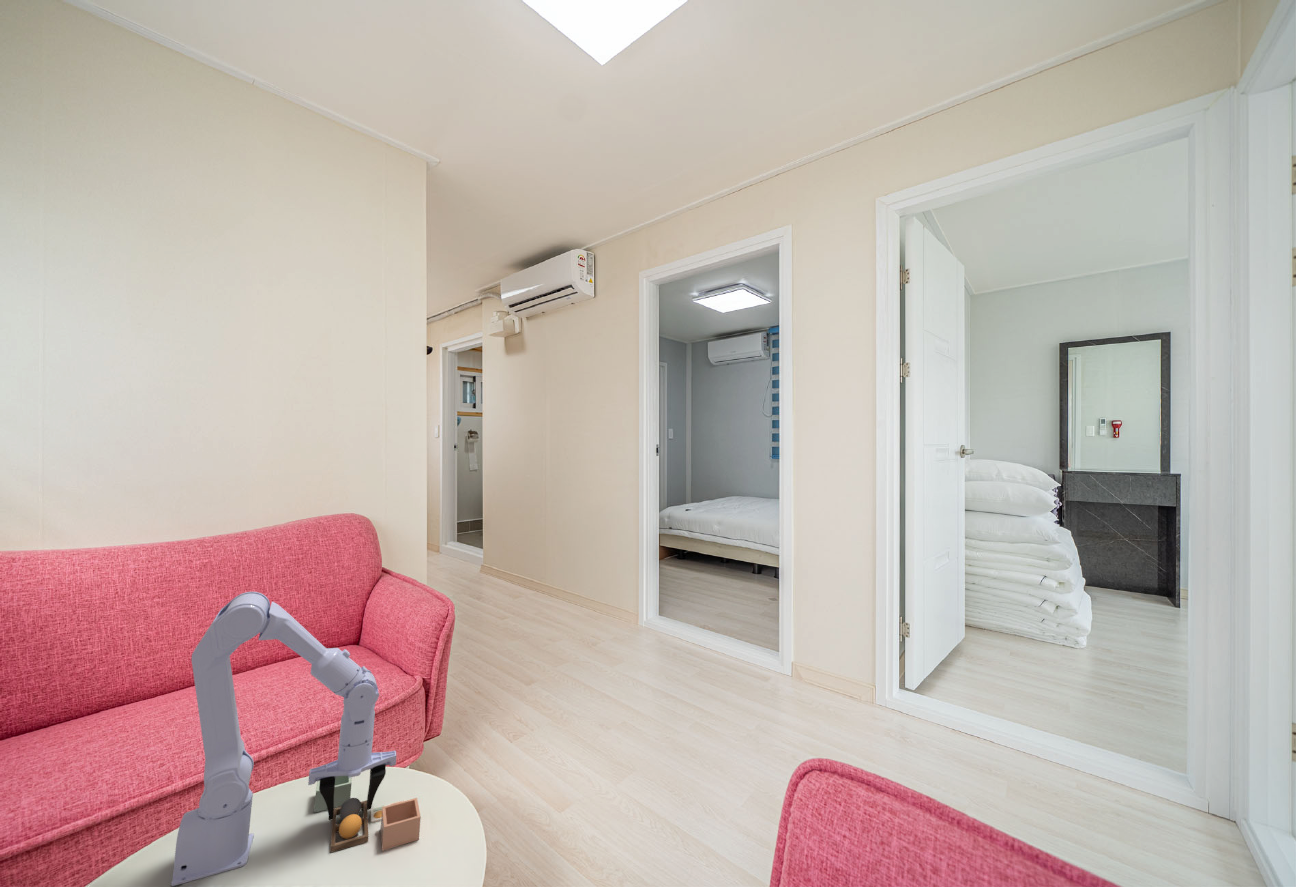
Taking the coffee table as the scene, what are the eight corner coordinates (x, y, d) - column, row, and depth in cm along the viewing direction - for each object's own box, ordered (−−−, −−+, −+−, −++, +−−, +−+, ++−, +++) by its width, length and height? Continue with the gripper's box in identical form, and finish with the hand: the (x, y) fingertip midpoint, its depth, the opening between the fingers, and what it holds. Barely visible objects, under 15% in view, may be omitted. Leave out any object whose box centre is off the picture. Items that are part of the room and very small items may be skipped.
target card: (370, 823, 95) (371, 820, 95) (370, 810, 98) (370, 808, 98) (405, 813, 98) (405, 811, 98) (403, 801, 101) (404, 799, 101)
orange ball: (337, 846, 89) (339, 825, 89) (338, 833, 92) (340, 813, 92) (361, 839, 90) (362, 819, 91) (360, 827, 93) (362, 807, 94)
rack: (330, 852, 87) (330, 846, 87) (332, 814, 96) (332, 809, 96) (368, 841, 90) (368, 836, 90) (366, 805, 99) (367, 800, 99)
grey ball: (338, 827, 93) (340, 808, 93) (339, 816, 96) (340, 796, 96) (360, 821, 95) (362, 802, 95) (360, 810, 98) (361, 791, 98)
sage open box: (314, 812, 97) (315, 791, 97) (316, 795, 102) (317, 774, 102) (349, 803, 100) (351, 783, 100) (349, 786, 105) (351, 767, 105)
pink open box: (382, 850, 88) (384, 827, 88) (380, 829, 93) (382, 807, 93) (418, 839, 91) (420, 816, 91) (415, 819, 96) (417, 797, 96)
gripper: (310, 758, 89) (303, 837, 88) (399, 739, 97) (393, 812, 96) (312, 739, 95) (306, 813, 94) (396, 723, 103) (391, 791, 102)
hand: (350, 811), depth 96 cm, fingers open, 6 cm apart
